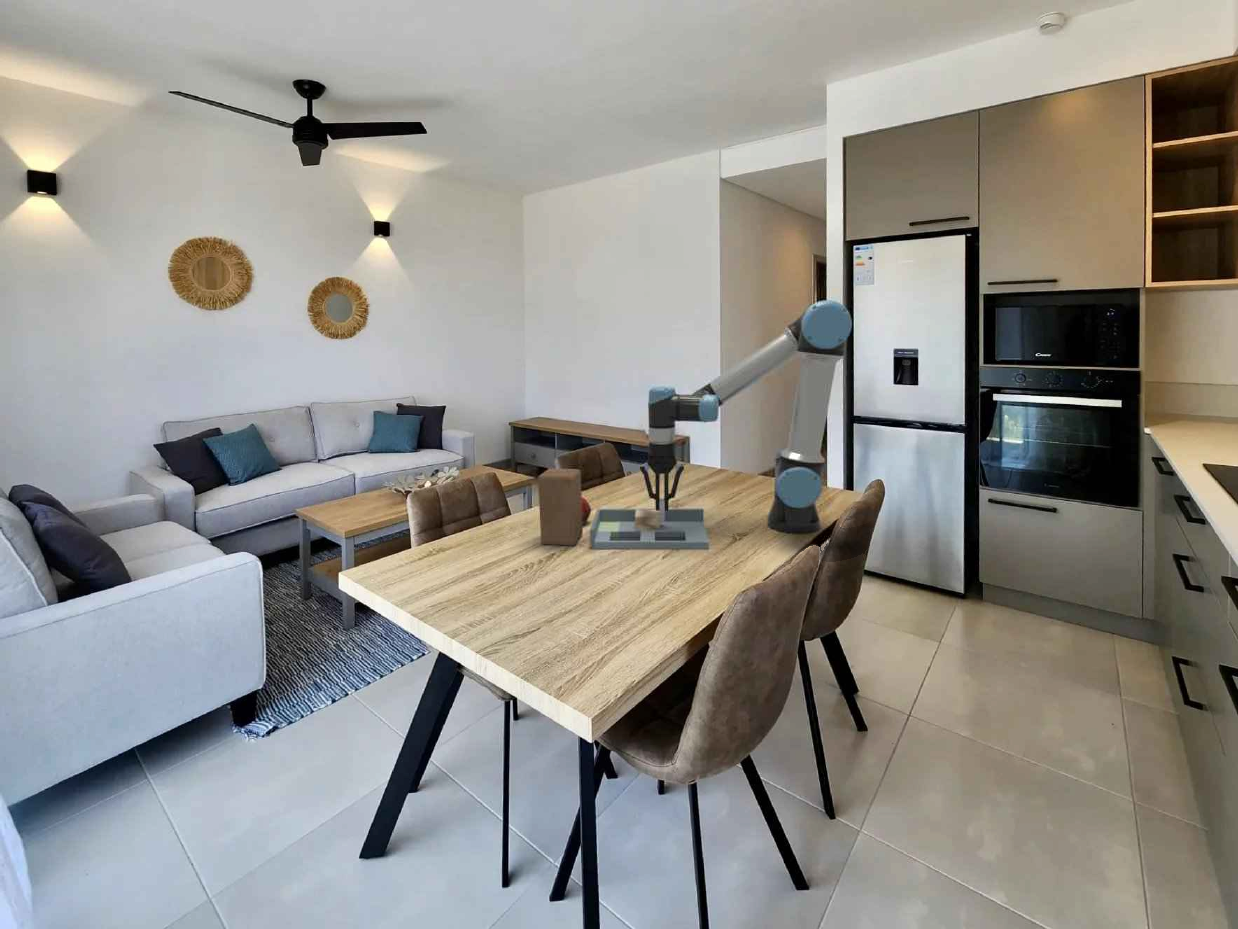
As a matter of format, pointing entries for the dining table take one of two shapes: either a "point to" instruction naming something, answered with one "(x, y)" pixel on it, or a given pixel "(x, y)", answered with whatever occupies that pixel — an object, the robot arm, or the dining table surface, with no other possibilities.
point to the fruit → (585, 510)
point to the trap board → (674, 533)
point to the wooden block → (560, 506)
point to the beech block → (647, 520)
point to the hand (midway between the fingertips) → (662, 521)
